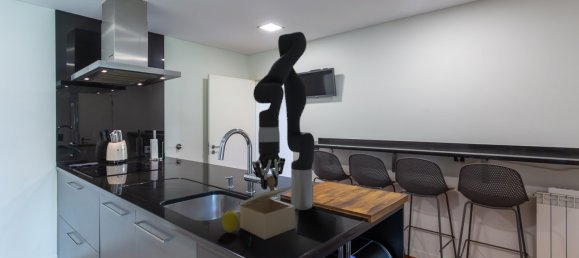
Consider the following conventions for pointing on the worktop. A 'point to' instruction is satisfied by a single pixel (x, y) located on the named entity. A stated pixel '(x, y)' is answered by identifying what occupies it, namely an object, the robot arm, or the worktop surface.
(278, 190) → the lid
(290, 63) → the robot arm
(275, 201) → the carton
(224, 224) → the lemon
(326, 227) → the worktop surface
